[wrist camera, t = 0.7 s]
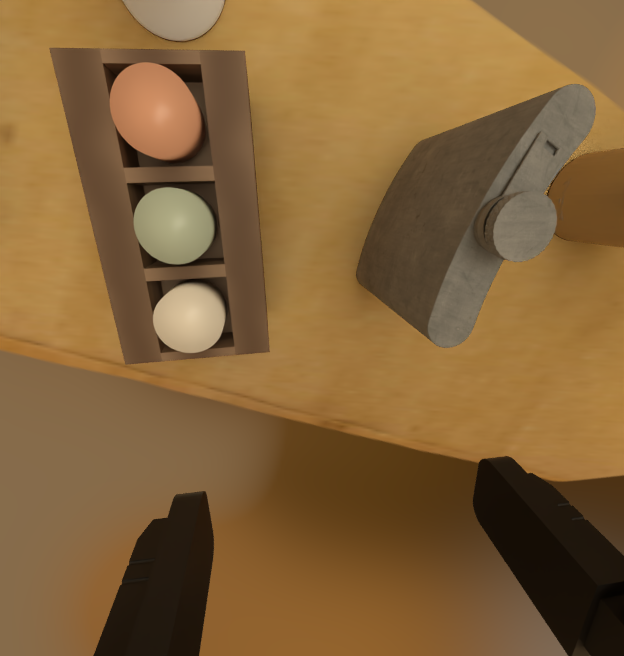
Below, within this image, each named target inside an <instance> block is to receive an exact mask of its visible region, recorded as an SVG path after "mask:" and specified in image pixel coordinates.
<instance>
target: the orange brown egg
mask: <svg viewBox="0 0 624 656" xmlns="http://www.w3.org/2000/svg"><path fill="white" fill-rule="evenodd" d="M110 111H111V115H112V119H113V121H114V124H115V126H116V128H117V130H118V131H119V133H120V134H121V136H122V137H123V138H124V139H125V140H126V141H127V142H128V143H129V144H130V145H131V146H132V147H133V148H135V149H136V150H138V151H140V152H142V153H144V154H146V155H149V156H151V157H153V158H156V159H158V160H160V161H163V162H167V163H180V162H184V161H187V160H189V159H190V158H192V157H193V156H194V155H196V153H197V152H198V151H199V150H200V148H201V146H202V144H203V141H204V138H205V120H204V116H203V113H202V111H201V108H200V107H199V105H198V103H197V102H196V100H195V98H194V97H193V95H192V93H191V92H190V90H189V89H188V87H187V86H186V84H185V83H184V82H183V81H182V80H181V78H180V77H179V76H177V75H176V74H175V73H174V72H172V71H171V70H170V69H168V68H166V67H164V66H162V65H159V64H155V63H149V62H143V63H137V64H133V65H131V66H129V67H127V68H126V69H124V70H123V71H122V72H121V73H120V74H119V75H118V76H117V78H116V79H115V81H114V83H113V86H112V89H111V93H110Z"/></svg>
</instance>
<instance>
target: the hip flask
mask: <svg viewBox="0 0 624 656" xmlns="http://www.w3.org/2000/svg"><path fill="white" fill-rule="evenodd" d="M595 111H596V107H595V101H594V97H593V95H592V94H591V92H590V91H589V90H588V89H587V88H586V87H584V86H583V85H579V84H571V85H567V86H564V87H562V88H559V89H556V90H554V91H551V92H548V93H546V94H543V95H540V96H538V97H535V98H533V99H530V100H527V101H525V102H522V103H519V104H517V105H514V106H512V107H509V108H506V109H504V110H501V111H498V112H496V113H493V114H491V115H488V116H485V117H483V118H480V119H477V120H475V121H472V122H470V123H467V124H464V125H462V126H459V127H456V128H454V129H451V130H449V131H446V132H443V133H441V134H438V135H435V136H433V137H430V138H427V139H425V140H422V141H420V142H419V143H418V144H417V145H416V146H415V147H414V149H413V150H412V151H411V153H410V154H409V156H408V157H407V159H406V160H405V162H404V163H403V165H402V166H401V168H400V169H399V171H398V173H397V175H396V176H395V178H394V180H393V181H392V183H391V185H390V187H389V189H388V191H387V193H386V195H385V196H384V198H383V201H382V203H381V205H380V207H379V209H378V211H377V213H376V216H375V218H374V220H373V222H372V225H371V227H370V230H369V232H368V235H367V238H366V241H365V244H364V246H363V249H362V253H361V256H360V260H359V263H358V267H357V272H356V277H357V280H358V282H359V283H360V284H361V285H362V286H364V287H365V288H366V289H367V290H368V291H370V292H371V293H372V294H373V295H375V296H376V297H377V298H378V299H380V300H381V301H382V302H383V303H385V304H386V305H387V306H388V307H390V308H391V309H392V310H393V311H395V312H396V313H397V314H398V315H400V316H401V317H402V318H403V319H404V320H406V321H407V322H408V323H409V324H411V325H412V326H413V327H414V328H416V329H417V330H418V331H419V332H421V333H422V334H423V335H424V336H426V337H427V338H428V339H429V340H431V341H432V342H433V343H434V344H435V345H437V346H439V347H443V348H449V347H454V346H457V345H459V344H461V343H462V342H463V341H465V340H466V339H467V338H468V336H469V335H470V333H471V332H472V330H473V327H474V325H475V322H476V319H477V316H478V314H479V311H480V309H481V306H482V304H483V301H484V299H485V297H486V295H487V292H488V290H489V288H490V286H491V284H492V282H493V280H494V278H495V276H496V274H497V272H498V270H499V268H500V266H501V264H502V262H503V260H508V261H513V262H522V261H527V260H529V259H532V258H534V257H535V256H537V255H539V254H540V252H542V251H543V250H544V249H545V247H546V246H547V245H548V244H549V242H550V240H551V239H552V237H553V234H554V233H555V228H556V225H557V223H556V221H557V215H556V209H555V205H554V204H553V203H552V200H551V199H549V198H548V196H547V195H544V194H543V193H544V192H545V190H546V189H547V187H548V186H549V185H550V183H551V182H552V180H553V179H554V178H555V176H556V175H557V173H558V172H559V171H560V169H561V168H562V167H563V165H564V164H565V163H566V161H567V160H568V159H569V157H570V156H571V155H572V154H573V152H574V151H575V150H576V149H577V147H578V146H579V145H580V144H581V143H582V141H583V140H584V139H585V138H586V136H587V135H588V133H589V132H590V130H591V128H592V125H593V122H594V119H595Z"/></svg>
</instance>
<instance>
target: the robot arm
mask: <svg viewBox="0 0 624 656" xmlns="http://www.w3.org/2000/svg"><path fill="white" fill-rule="evenodd" d="M548 198H549V199H551V200H552V203H553V204H554V205H555V209H556V215H557V221H556V223H557V225H556V228H555V234H556V235H558V236H559V237H561V238H563V239H565V240H570V241H577V242H585V243H594V244H600V245H608V246H616V247H624V148H620V149H614V150H607V151H600V152H593V153H589V154H585V155H582V156H580V157H578V158H576V159H574V160H573V161H571V162H570V163H569V164H567V165H566V166H565V167H564V168H563V169H562V171H561V172H560V173H559V174H558V176H557V177H556V179H555V180H554V182H553V184H552V186H551V188H550V191H549V194H548ZM473 507H474V511H475V514H476V517H477V519H478V521H479V523H480V525H481V526H482V528H483V529H484V531H485V532H486V534H487V535H488V537H489V538H490V540H491V541H492V542H493V544H494V546H495V547H496V549H497V550H498V552H499V553H500V555H501V556H502V557H503V559H504V561H505V562H506V563H507V565H508V566H509V567H510V569H511V571H512V572H513V574H514V575H515V577H516V578H517V580H518V581H519V583H520V584H521V586H522V587H523V589H524V590H525V592H526V593H527V595H528V596H529V598H530V599H531V600H532V602H533V604H534V605H535V607H536V608H537V610H538V611H539V613H540V614H541V616H542V617H543V619H544V620H545V622H546V623H547V625H548V626H549V627H550V629H551V631H552V632H553V634H554V635H555V637H556V638H557V640H558V641H559V643H560V644H561V645H562V647H563V648H564V650H565V652H566V653H567V655H568V656H624V556H623V555H622V554H621V553H620V552H619V551H618V550H617V549H616V548H615V547H614V546H613V545H612V544H611V543H610V542H609V541H608V540H607V539H606V538H605V537H604V536H603V535H602V534H601V533H600V532H599V531H598V530H597V529H596V528H595V527H594V526H593V525H592V524H591V523H590V522H589V521H588V520H585V519H584V517H583V515H582V514H581V513H580V512H578V510H577V509H575V507H574V506H571V505H570V504H569V501H567V500H566V499H565V498H564V497H563V496H562V495H561V494H560V493H559V492H558V491H557V490H556V489H555V488H554V487H553V486H552V485H550V484H549V483H547V482H546V481H544V480H542V479H541V478H539V477H538V476H536V475H534V474H533V473H529V474H527V473H526V472H525V470H524V469H523V468H522V467H521V466H520V465H519V464H518V463H517V462H516V461H515V460H514V459H512V458H511V457H509V456H504V457H496V458H488V459H482V460H481V461H480V462H479V466H478V471H477V477H476V484H475V490H474V496H473ZM213 537H214V536H213V529H212V523H211V517H210V512H209V505H208V499H207V495H206V492H205V491H202V492H194V493H185V494H177V495H176V496H175V497H174V499H173V502H172V505H171V508H170V511H169V515H168V518H162V519H154V520H153V521H152V522H151V523H150V524H149V525H148V527H147V528H146V529H145V530H144V532H143V533H142V534H141V536H140V537H139V538H138V540H137V542H136V545H135V548H134V550H133V553H132V555H131V558H130V561H129V566H127V569H126V571H125V574H124V577H123V579H122V585H120V587H119V590H118V593H117V595H116V598H115V600H114V603H113V606H112V608H111V611H110V614H109V616H108V619H107V622H106V624H105V627H104V630H103V632H102V635H101V637H100V640H99V643H98V645H97V648H96V651H95V653H94V656H199V652H200V645H201V638H202V631H203V624H204V617H205V611H206V604H207V596H208V589H209V583H210V575H211V569H212V562H213V553H214V552H213V551H214V538H213Z"/></svg>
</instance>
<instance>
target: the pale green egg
mask: <svg viewBox="0 0 624 656" xmlns="http://www.w3.org/2000/svg"><path fill="white" fill-rule="evenodd" d="M134 230H135V234H136V236H137V239H138V240H139V242H140V244H141V245H142V247H143V248H144V249H145V250H146V251H147V252H148V253H149V254H150V255H151V256H153V257H154V258H156V259H158V260H160V261H162V262H165V263H169V264H185V263H189V262H191V261H194V260H195V259H197V258H198V257H200V256H201V255H202V254H203V253H204V252H205V251H206V250H208V249H209V247H210V246H211V245H212V244H213V242H214V240H215V238H216V234H217V219H216V216H215V213H214V211H213V209H212V207H211V206H210V204H209V203H208V202H207V201H206V200H205V199H204V198H203V197H201V196H200V195H198V194H197V193H194V192H192V191H189V190H184V189H178V188H171V187H165V188H159V189H155V190H153V191H151V192H149V193H148V194H146V195H145V196H144V197H143V198H142V199H141V200H140V202H139V203H138V205H137V207H136V209H135V213H134Z"/></svg>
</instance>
